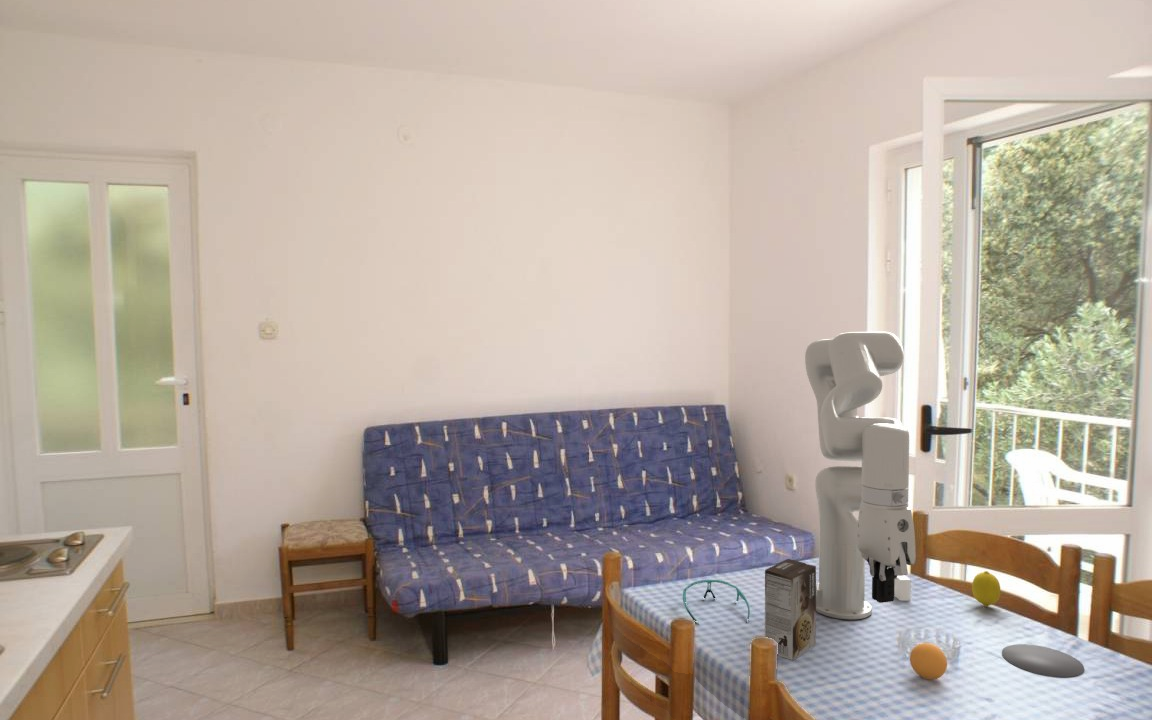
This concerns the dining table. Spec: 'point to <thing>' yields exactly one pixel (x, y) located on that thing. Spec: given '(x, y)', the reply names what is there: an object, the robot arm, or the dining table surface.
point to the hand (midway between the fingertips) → (883, 599)
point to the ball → (928, 661)
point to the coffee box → (791, 607)
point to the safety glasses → (713, 594)
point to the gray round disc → (1043, 660)
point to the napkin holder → (902, 588)
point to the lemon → (986, 588)
